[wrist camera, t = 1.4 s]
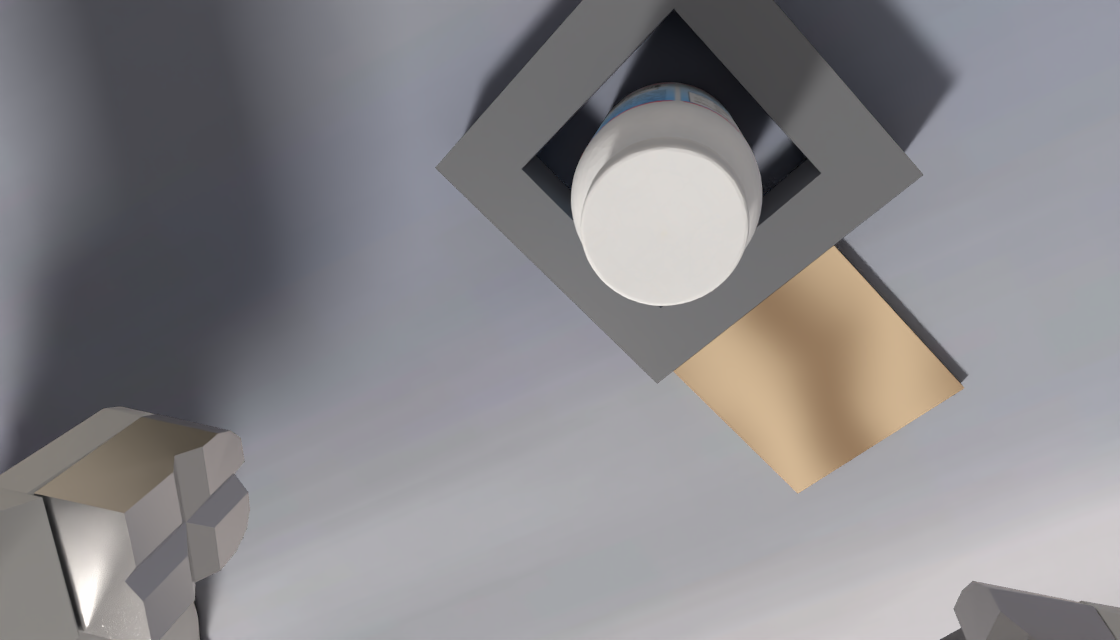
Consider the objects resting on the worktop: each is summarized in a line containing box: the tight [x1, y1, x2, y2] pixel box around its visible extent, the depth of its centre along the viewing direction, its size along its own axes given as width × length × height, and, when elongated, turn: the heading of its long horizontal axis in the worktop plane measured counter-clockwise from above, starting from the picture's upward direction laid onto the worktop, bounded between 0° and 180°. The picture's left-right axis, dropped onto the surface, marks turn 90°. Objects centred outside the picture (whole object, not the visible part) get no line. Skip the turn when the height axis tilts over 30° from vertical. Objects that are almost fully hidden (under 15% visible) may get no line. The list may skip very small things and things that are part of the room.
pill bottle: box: [571, 82, 762, 306], centre depth 24 cm, size 6×6×11 cm
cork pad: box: [674, 245, 964, 493], centre depth 32 cm, size 9×9×1 cm
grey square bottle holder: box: [435, 0, 923, 383], centre depth 28 cm, size 13×13×3 cm
